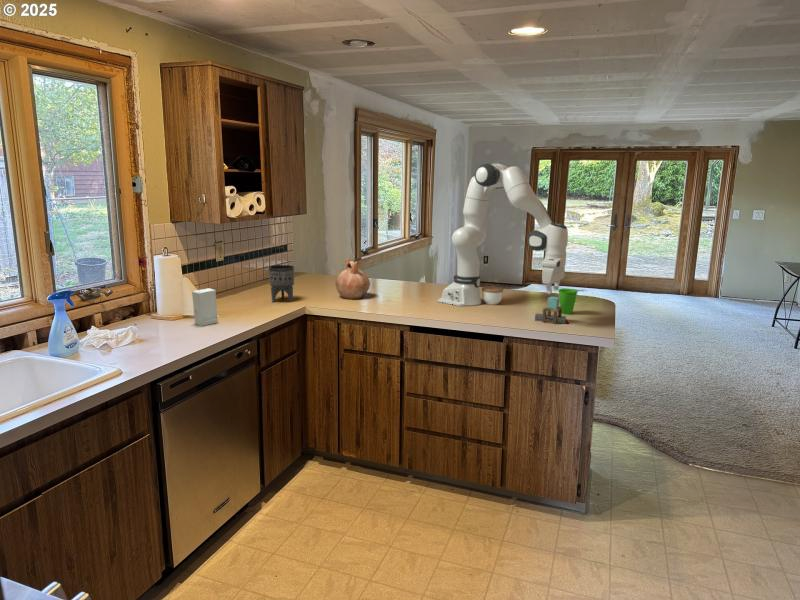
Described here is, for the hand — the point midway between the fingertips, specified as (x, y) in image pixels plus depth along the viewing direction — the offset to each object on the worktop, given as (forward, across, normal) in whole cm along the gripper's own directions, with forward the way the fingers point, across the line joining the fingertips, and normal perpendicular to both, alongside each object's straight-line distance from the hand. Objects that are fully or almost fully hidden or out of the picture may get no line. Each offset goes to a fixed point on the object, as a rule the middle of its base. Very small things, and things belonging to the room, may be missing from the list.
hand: (552, 291), depth 250 cm
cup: (+14, -19, +2) cm, 24 cm away
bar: (+14, +1, 0) cm, 14 cm away
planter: (+17, +36, -128) cm, 134 cm away
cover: (+13, 0, +1) cm, 13 cm away
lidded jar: (+14, -19, -36) cm, 43 cm away
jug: (+16, +8, -104) cm, 106 cm away
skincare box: (+16, +88, -123) cm, 152 cm away
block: (+7, 0, +1) cm, 7 cm away
